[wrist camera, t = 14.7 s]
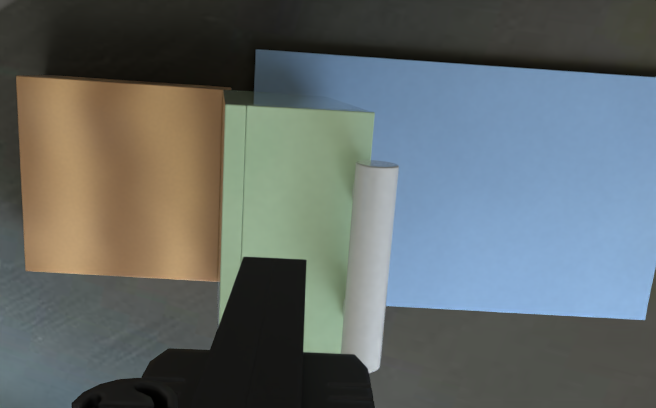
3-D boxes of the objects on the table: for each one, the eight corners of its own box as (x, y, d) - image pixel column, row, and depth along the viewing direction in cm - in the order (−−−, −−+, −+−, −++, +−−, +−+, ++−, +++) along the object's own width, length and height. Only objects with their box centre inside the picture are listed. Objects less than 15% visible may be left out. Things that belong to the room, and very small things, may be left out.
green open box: (222, 89, 33) (333, 96, 34) (217, 282, 36) (320, 282, 37) (226, 110, 19) (409, 119, 21) (217, 419, 22) (380, 412, 23)
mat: (246, 296, 40) (245, 298, 39) (256, 49, 36) (255, 49, 36) (641, 317, 41) (645, 320, 40) (689, 79, 37) (693, 79, 37)
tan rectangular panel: (231, 87, 37) (223, 89, 33) (226, 263, 39) (217, 281, 36) (43, 74, 36) (15, 75, 33) (50, 253, 39) (25, 271, 35)
